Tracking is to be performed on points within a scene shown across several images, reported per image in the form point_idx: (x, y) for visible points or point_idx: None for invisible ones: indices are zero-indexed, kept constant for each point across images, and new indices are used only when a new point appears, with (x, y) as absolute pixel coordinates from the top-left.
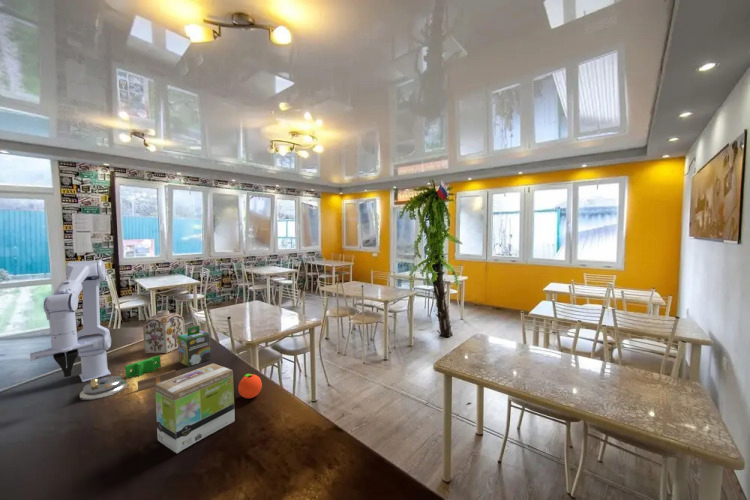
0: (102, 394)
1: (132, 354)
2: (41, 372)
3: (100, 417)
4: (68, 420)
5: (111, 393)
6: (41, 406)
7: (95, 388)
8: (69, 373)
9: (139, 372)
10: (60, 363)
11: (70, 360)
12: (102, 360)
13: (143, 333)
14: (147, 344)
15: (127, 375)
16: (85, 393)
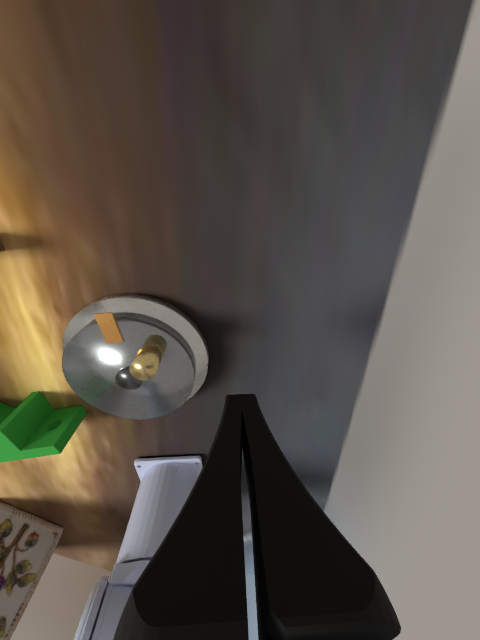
0: (136, 299)
1: (98, 534)
2: None
3: (126, 6)
4: (251, 151)
5: (109, 297)
6: (296, 376)
7: (152, 335)
8: (232, 405)
9: (27, 402)
10: (303, 505)
11: (218, 519)
12: (135, 521)
13: (16, 625)
14: (35, 561)
15: (75, 412)
16: (190, 348)
